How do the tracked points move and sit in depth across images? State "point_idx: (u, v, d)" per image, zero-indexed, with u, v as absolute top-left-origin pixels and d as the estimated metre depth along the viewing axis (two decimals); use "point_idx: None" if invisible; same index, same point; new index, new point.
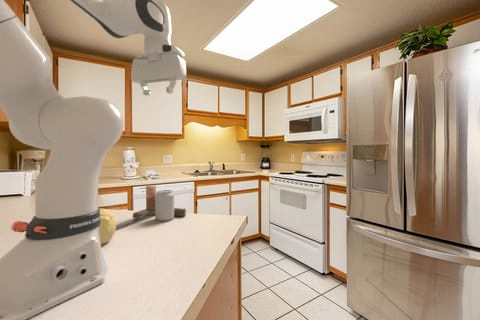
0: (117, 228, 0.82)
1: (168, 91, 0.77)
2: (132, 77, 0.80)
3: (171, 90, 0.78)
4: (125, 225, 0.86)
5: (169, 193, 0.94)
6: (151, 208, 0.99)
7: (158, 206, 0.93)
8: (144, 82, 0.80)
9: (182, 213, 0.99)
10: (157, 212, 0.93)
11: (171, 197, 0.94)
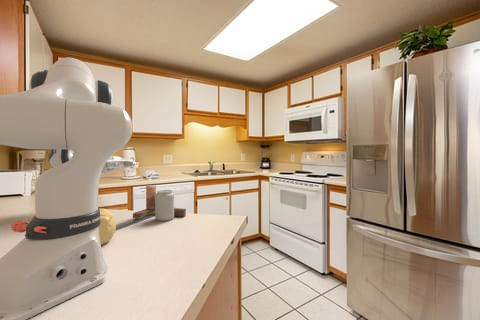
0: (117, 228, 0.82)
1: (133, 162, 1.08)
2: None
3: None
4: (125, 225, 0.86)
5: (169, 193, 0.94)
6: (151, 208, 0.99)
7: (158, 206, 0.93)
8: None
9: (182, 213, 0.99)
10: (157, 212, 0.93)
11: (171, 197, 0.94)
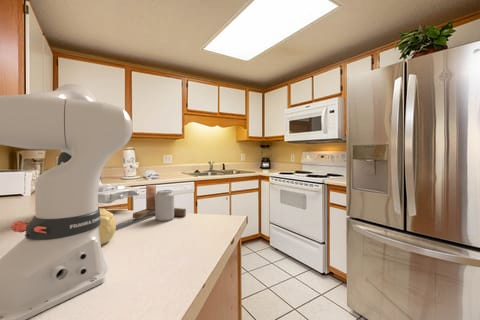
0: (117, 228, 0.82)
1: (137, 192, 1.08)
2: (103, 193, 0.97)
3: None
4: (125, 225, 0.86)
5: (169, 193, 0.94)
6: (151, 208, 0.99)
7: (158, 206, 0.93)
8: None
9: (182, 213, 0.99)
10: (157, 212, 0.93)
11: (171, 197, 0.94)
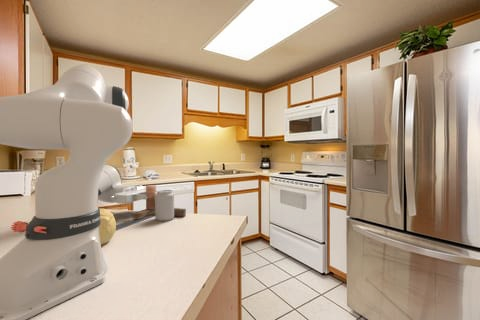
0: (117, 228, 0.82)
1: None
2: (124, 194, 0.94)
3: None
4: (125, 225, 0.86)
5: (169, 193, 0.94)
6: (151, 208, 0.99)
7: (158, 206, 0.93)
8: None
9: (182, 213, 0.99)
10: (157, 212, 0.93)
11: (171, 197, 0.94)
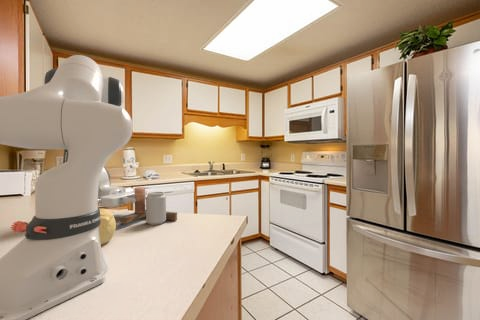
0: (117, 228, 0.82)
1: None
2: (110, 197, 0.87)
3: None
4: (125, 225, 0.86)
5: (160, 195, 0.89)
6: (140, 212, 0.93)
7: (148, 208, 0.88)
8: None
9: (173, 217, 0.93)
10: (147, 215, 0.88)
11: (162, 199, 0.89)
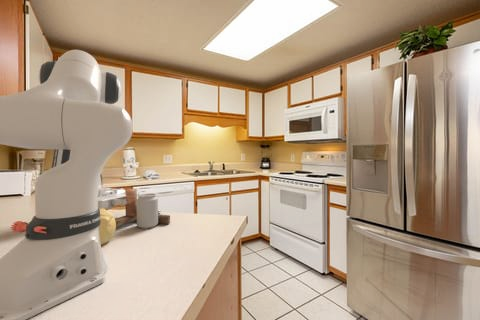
0: (117, 228, 0.82)
1: None
2: (99, 199, 0.83)
3: None
4: (125, 225, 0.86)
5: (152, 197, 0.85)
6: (131, 215, 0.88)
7: (139, 211, 0.83)
8: None
9: (166, 220, 0.89)
10: (138, 218, 0.84)
11: (154, 202, 0.85)
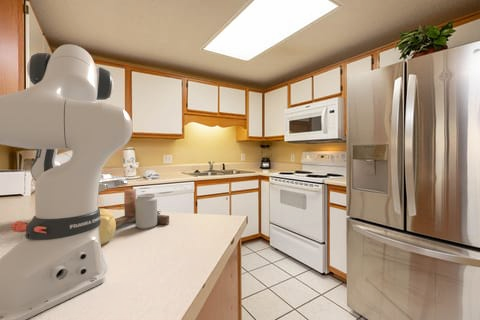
0: (117, 228, 0.82)
1: (125, 181, 0.96)
2: None
3: None
4: (125, 225, 0.86)
5: (150, 198, 0.84)
6: (130, 215, 0.88)
7: (138, 212, 0.83)
8: None
9: (165, 221, 0.88)
10: (137, 219, 0.83)
11: (153, 202, 0.84)
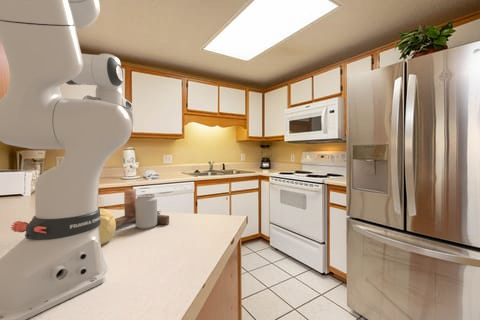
0: (117, 228, 0.82)
1: None
2: None
3: None
4: (125, 225, 0.86)
5: (151, 198, 0.84)
6: (130, 215, 0.88)
7: (138, 212, 0.83)
8: None
9: (165, 221, 0.88)
10: (137, 219, 0.83)
11: (153, 202, 0.84)
